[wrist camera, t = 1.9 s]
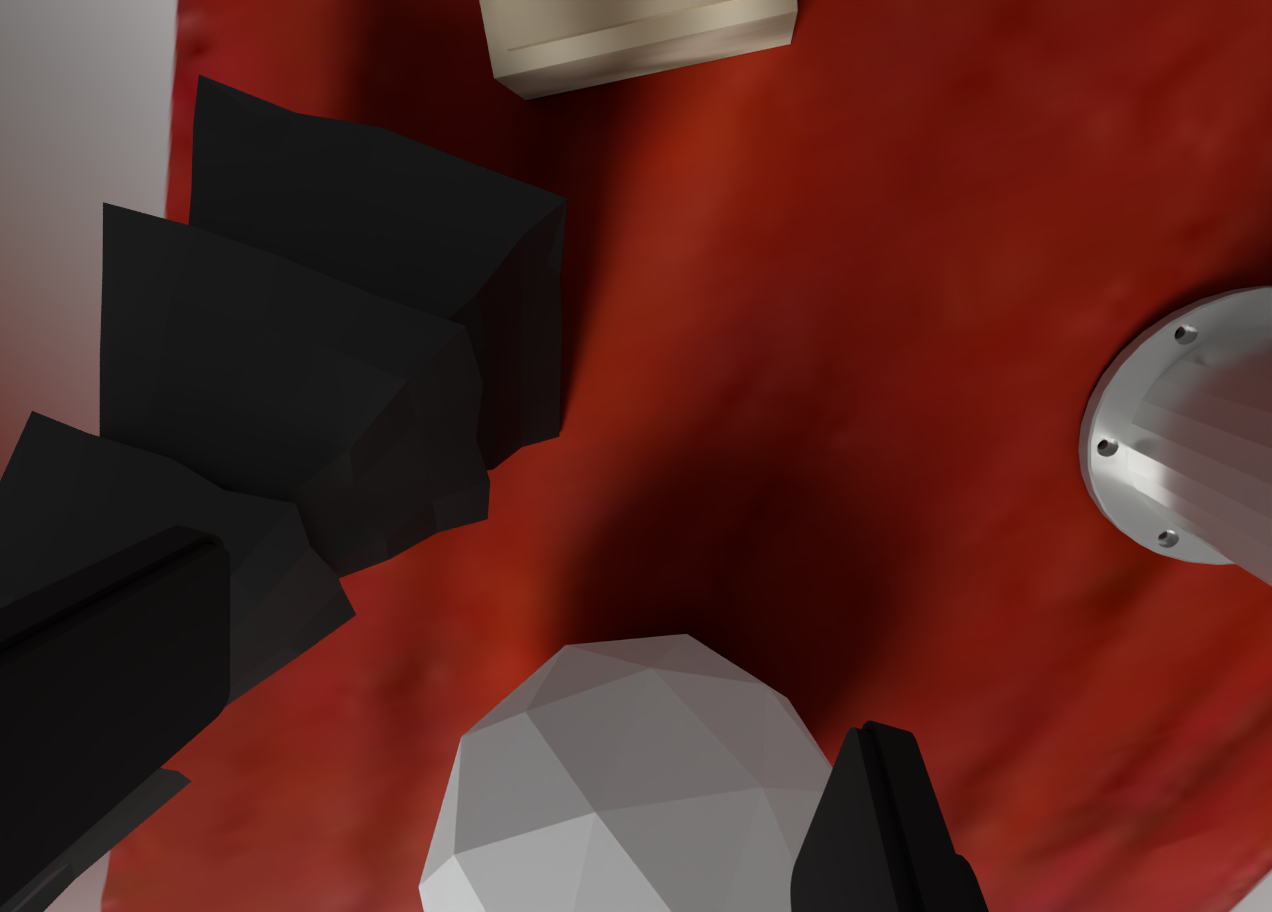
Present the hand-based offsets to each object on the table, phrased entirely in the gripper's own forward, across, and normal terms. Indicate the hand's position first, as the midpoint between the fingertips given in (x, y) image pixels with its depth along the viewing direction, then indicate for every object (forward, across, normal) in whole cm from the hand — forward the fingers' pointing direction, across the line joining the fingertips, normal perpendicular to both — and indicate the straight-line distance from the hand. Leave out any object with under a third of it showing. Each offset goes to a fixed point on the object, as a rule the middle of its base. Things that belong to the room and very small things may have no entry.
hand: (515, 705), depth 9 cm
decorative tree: (+25, +13, +4) cm, 28 cm away
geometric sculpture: (+25, -4, +20) cm, 32 cm away
